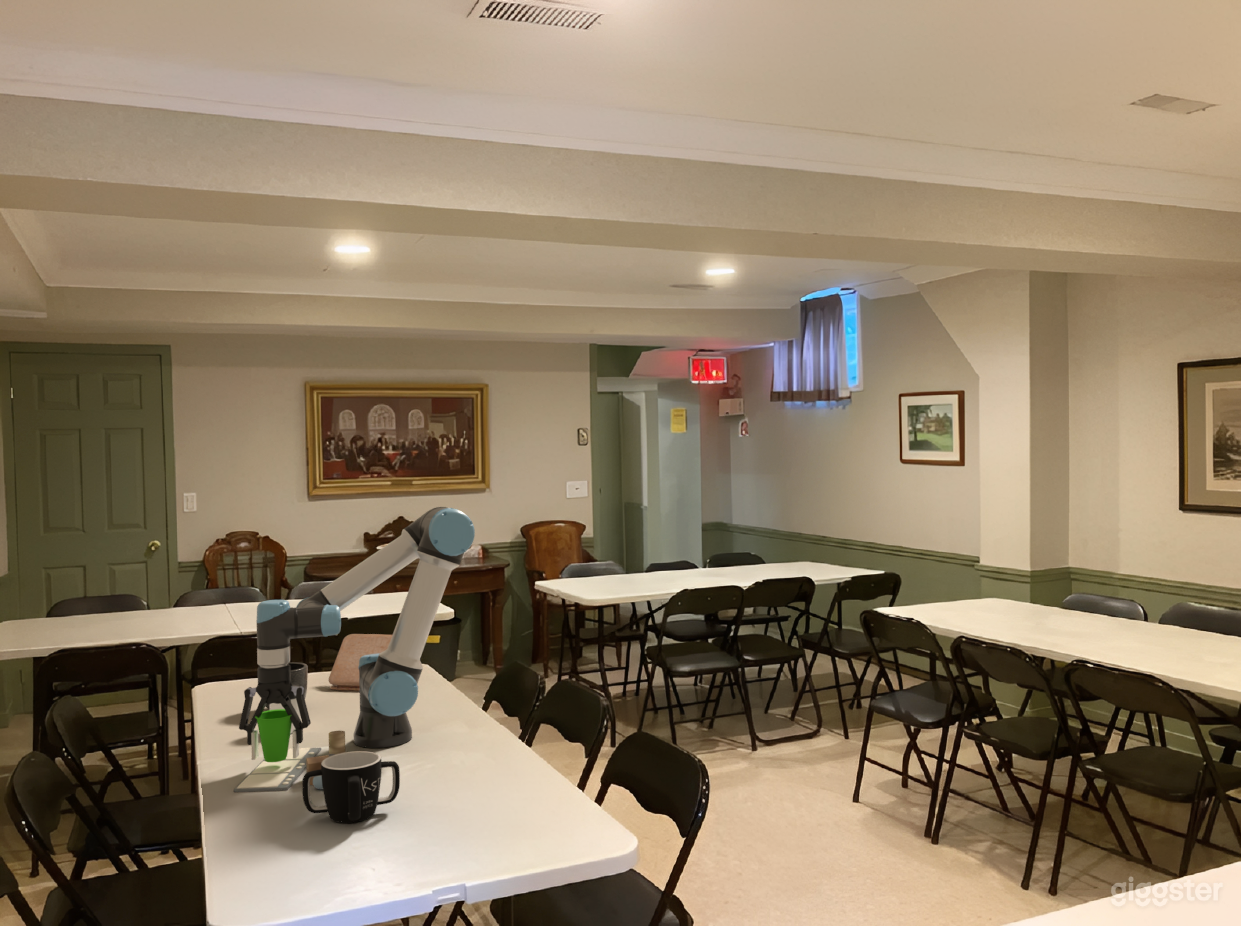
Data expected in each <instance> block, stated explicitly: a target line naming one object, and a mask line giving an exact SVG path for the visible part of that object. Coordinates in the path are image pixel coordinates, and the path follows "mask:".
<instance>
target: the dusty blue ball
mask: <svg viewBox="0 0 1241 926" xmlns="http://www.w3.org/2000/svg"><path fill="white" fill-rule="evenodd" d="M312 786H314V788H316V789H317V790H323V787H322V776H316V777H314V778H313V785H312Z"/></svg>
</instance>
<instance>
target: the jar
mask: <svg viewBox="0 0 1241 926" xmlns="http://www.w3.org/2000/svg"><path fill="white" fill-rule="evenodd" d="M292 686H297V687H300V686H298V685H292ZM288 696H289V698H290V700H291V703H292V705H293V707H294V709H295V711H296V713H297V714H298V716H299V718H300V720H301V716H300V712H299V708H298V704H297V700H296V696H295V695H294V693H293V691H291V692H290V694H289V695H288ZM276 709H284V707H282V705H281V703H280V704H275V703H272V704H270V709H268V710H276ZM301 721H302V720H301ZM294 729H295V727H294V725H293V724H292V725H291V732H290V735H292V731H293V730H294Z"/></svg>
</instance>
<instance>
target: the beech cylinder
mask: <svg viewBox="0 0 1241 926" xmlns="http://www.w3.org/2000/svg"><path fill="white" fill-rule="evenodd" d="M345 752H346V731H345V730H332V731H329V732H328V755H329V754H335V755H336V754H340V753H345Z"/></svg>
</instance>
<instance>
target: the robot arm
mask: <svg viewBox="0 0 1241 926" xmlns="http://www.w3.org/2000/svg"><path fill="white" fill-rule="evenodd" d="M475 534H476V533H475V526H474V523H473V521H472V520H471V518H470V517H469V515H467V514H466V513H465V512H463V511H462V510H459V509H458V508H453V507H446V506H436V507H433V508H431V509H429V510H427V511H425V513H423V514H422V515H420V517H418V518H417V519H416V520H414V521H413V522H411V523H410V524H409V525H407V526H406V527H404V528H403V529H402V531H401V534H400V535H399V536H398V537H396V538H395V539H394V540H392V541H390V542H389V543H388V544H386V545H385V546H383V547H382V548H380V549H379V550H377V551H376V552H374V553H373V554H371V555H370V556H368V557H367V558H365V559H364V560H363V561H361V562H359V563H358V564H357V565H355V566H354V567H351V569H350V570H348V571H347V572H345V573H344V574H342V575H341V576H339V577H338V578H336V579H334V580H333V581H331V582H330V583H329V584H327V585H326V586H324V587H323V588H322V589H319V591H317V592H315V593H314V594H313V595H311V596H309V597H305V598H303V599H301V600H300V601H299V602H298V603H297V605H296V606H295V607H291V605H290V602H289V600H287V599H286V600H285V599H269V600H264V601H260V602H259V603H258V605H257V606H256V621H255V622H256V643H257V645H256V646H257V647H256V650H257V651H256V653H257V654H256V656H257V657H256V658H257V659H256V660H257V661H256V662H257V665H258V667H257V686H256V687H251V686H248V687H247V688H246V689H244V690H243V694H244V702H243V707H242V711H241V716H240V720H239V726H238V729H239V730H240V731H246V734H247V737H246V739H247V745H248V746H251V760H253V761H255V760H256V759H257V758H259V729H256V726H257V725H258V723H257V719H256V718H255V716H257V717H258V718H259V717H260V716H261V714H262V712H264V710H265V708H266V707H265V706H266V704H272V703H275V704H280V703H281V705H282V707H284V709H285V711H286V712H287V714H288V716H289V715H292V716H290V720H291V722H292V724H293V725H294V727H295V729H294V730H293V731H292V734H291V735H292V736H291V737H292V748H293V758H297V757H298V756H299V748H300V744H302V743H303V741H304V729H307V728H308V727H309V726H310V725H311V723H312V722H311V719H310V718H311V717H310V714H309V710H308V707H307V702H306V698H304V686H300V687H297V686H292V684H291V673H290V665H289V664H288V663H291V642H290V641H291V640H292V639H293V640H294V639H301V638H304V639H305V638H317V637H318V638H319V637H325V638H327V637H328V636H330V637H331V636H337V635H338V634H340V632H341V627H342V616H341V615H342V614H341V611H343V610H344V609H346V608H347V607H349V606H350V605H352V604H353V603H354V602H356V601H358V600H359V599H360V598H362V597H363V596H365V595H366V594H368V593H369V592H370V591H372V590H373V589H375V588H376V587H378V586H379V585H380V584H382V583H383V582H385V581H386V580H388V579H389V578H391V577H392V576H394V575H395V574H396V573H399V571H401V570H402V569H404V568H405V567H406V566H408V565H410V564H411V563H412V562H414V561H415V560H417V559H419V560H418V561H419V562H418V565H417V567H416V569H415V573H414V575H413V579H412V580H411V583H410V586H409V589H408V591H407V595H406V597H405V600H404V603H403V605H402V609H401V610H400V612H399V617H398V619H397V622H396V625H395V627H394V630H393V633H392V634H391V635H392V638H391V641H390V643H389V646H388V649H387V650H385V651H383V652H381V653H378V654H370V655H364V656H362V657H361V658H360V659H359V666H358V669H359V688H360V691H359V714H358V719H357V721H356V725H355V728H354V732H353V743H354V744H355V745H356V746H357V747H361V748H369V749H373V748H374V749H375V748H376V749H377V748H378V749H379V748H390V747H395V746H396V747H397V746H399V745H402V744H405V743H407V742H409V741H411V739H413V729H412V728H413V727H412V725H411V722H410V720H409V717H408V715H407V712H408V711H410V710H411V709H412V707H414V705H415V704H416V702H417V699H418V696H419V686H418V683H419V681H420V678H421V674H422V671H423V669H424V666H423V664H422V662H421V657H422V654H423V652H424V649H425V646H426V644H427V640H428V638H429V634H430V632H431V629H432V626H433V624H434V620H435V619H436V614H437V612H438V609H439V608H440V604H441V601H442V600H443V599H442V598H443V596H444V592H445V590H446V587H447V585H448V582H449V578H450V576H451V573H452V571H453V570H455V569H457V568H458V567H460V566H461V563H462V560H463V557H464V554H465V553H466V552H467V551H468V550H469V549H470V548H471V546H472V545H473V543H474V540H475V536H476V535H475ZM291 691H293V693H294V695H295V696H296V700H297V704H298V708H299V712H300V716H301V720H300V718H299V716H298V714H297V713H296V711H295V709H294V707H293V705H292V703H291V700H290V698H289V696H288V695H289V694H290V692H291ZM256 694H257V695H258V696H259V698H260V701H259V703H258V705H257V708H256V710H255V712H254V714H253V716H252V718H251V719H250V715H251V709H252V706H253V701H254V697H255V696H256ZM249 720H250V722H249ZM248 722H249V723H248Z"/></svg>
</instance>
